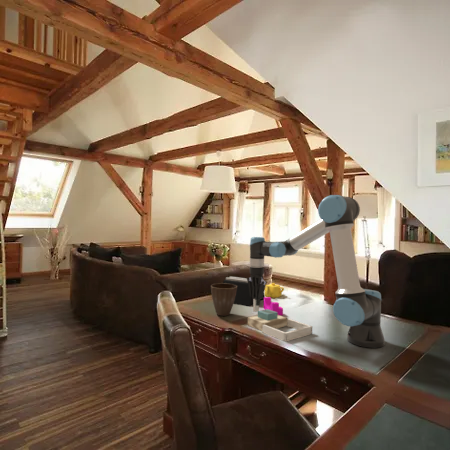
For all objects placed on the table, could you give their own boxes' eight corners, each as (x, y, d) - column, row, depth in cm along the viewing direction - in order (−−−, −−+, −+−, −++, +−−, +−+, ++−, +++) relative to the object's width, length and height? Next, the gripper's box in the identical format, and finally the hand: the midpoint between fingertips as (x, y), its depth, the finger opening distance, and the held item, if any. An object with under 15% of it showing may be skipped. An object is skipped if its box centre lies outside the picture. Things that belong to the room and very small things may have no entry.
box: (312, 333, 153) (312, 326, 153) (285, 341, 142) (285, 333, 142) (288, 325, 165) (288, 318, 165) (262, 332, 154) (262, 325, 154)
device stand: (249, 307, 200) (249, 283, 199) (218, 302, 212) (219, 279, 211) (265, 300, 219) (265, 278, 218) (236, 296, 231) (236, 274, 230)
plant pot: (231, 309, 193) (231, 282, 193) (240, 316, 179) (241, 287, 179) (207, 311, 188) (207, 283, 188) (214, 318, 174) (215, 288, 174)
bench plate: (287, 325, 164) (287, 318, 164) (264, 331, 155) (264, 323, 155) (270, 320, 174) (270, 312, 174) (247, 325, 164) (247, 317, 164)
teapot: (285, 300, 220) (285, 285, 220) (266, 300, 218) (267, 285, 218) (278, 295, 233) (279, 281, 233) (261, 296, 231) (261, 281, 231)
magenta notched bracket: (282, 316, 182) (283, 303, 182) (272, 316, 180) (272, 303, 180) (273, 309, 196) (273, 297, 196) (263, 309, 195) (263, 297, 195)
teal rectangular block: (277, 318, 163) (277, 312, 163) (267, 320, 159) (267, 314, 159) (267, 314, 169) (267, 309, 169) (257, 317, 165) (257, 311, 165)
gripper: (270, 267, 168) (269, 313, 168) (253, 264, 178) (253, 307, 178) (260, 268, 163) (259, 315, 164) (243, 265, 174) (242, 309, 174)
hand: (256, 311), depth 171 cm, fingers closed
